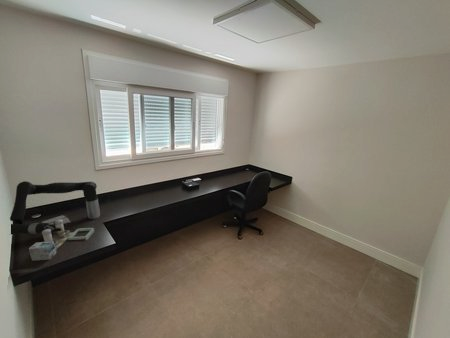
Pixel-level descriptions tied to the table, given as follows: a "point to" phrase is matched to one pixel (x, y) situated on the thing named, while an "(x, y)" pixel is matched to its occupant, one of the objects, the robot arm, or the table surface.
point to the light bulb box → (42, 250)
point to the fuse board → (61, 238)
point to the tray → (91, 231)
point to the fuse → (47, 235)
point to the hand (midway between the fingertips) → (63, 227)
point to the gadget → (51, 221)
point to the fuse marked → (60, 226)
